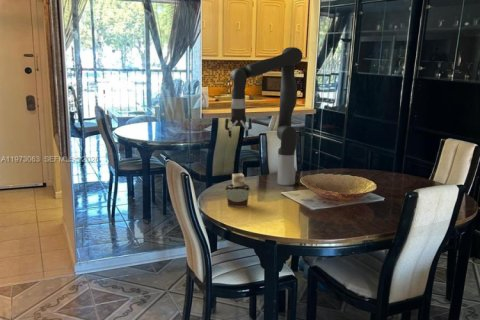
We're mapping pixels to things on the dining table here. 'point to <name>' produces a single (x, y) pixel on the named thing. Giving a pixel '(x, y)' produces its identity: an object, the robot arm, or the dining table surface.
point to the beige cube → (238, 180)
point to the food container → (237, 195)
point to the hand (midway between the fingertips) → (238, 137)
